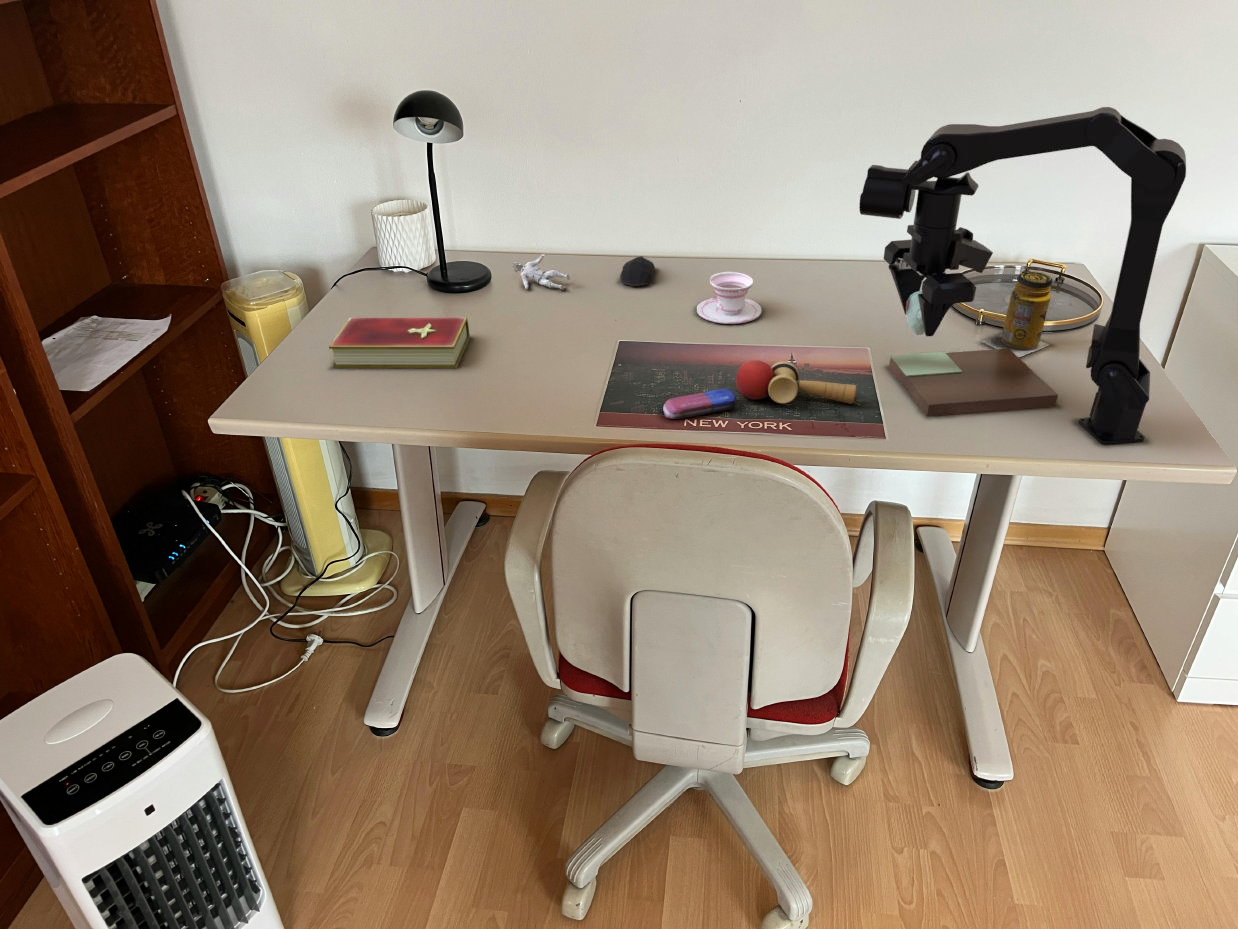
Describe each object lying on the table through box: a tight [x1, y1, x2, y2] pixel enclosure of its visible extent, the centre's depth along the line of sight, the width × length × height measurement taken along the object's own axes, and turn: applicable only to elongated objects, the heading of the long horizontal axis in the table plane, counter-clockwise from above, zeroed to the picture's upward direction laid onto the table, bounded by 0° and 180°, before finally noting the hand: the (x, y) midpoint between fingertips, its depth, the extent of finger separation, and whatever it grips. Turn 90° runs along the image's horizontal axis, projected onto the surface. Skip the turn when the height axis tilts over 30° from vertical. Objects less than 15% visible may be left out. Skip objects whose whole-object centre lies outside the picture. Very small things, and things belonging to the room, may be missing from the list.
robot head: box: [905, 290, 925, 336], centre depth 135 cm, size 8×4×7 cm, turn 170°
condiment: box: [981, 271, 1053, 358], centre depth 151 cm, size 7×8×12 cm
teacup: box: [696, 271, 763, 325], centre depth 167 cm, size 12×12×6 cm
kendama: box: [735, 359, 857, 405], centre depth 139 cm, size 8×6×18 cm
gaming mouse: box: [619, 255, 656, 287], centre depth 184 cm, size 6×15×4 cm, turn 169°
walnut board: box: [888, 348, 1059, 417], centre depth 142 cm, size 16×20×2 cm
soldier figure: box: [512, 254, 571, 291], centre depth 181 cm, size 8×5×12 cm
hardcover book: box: [328, 317, 470, 369], centre depth 156 cm, size 12×21×4 cm, turn 87°
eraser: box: [662, 388, 737, 420], centre depth 138 cm, size 11×4×2 cm, turn 105°
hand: (918, 325), depth 136 cm, fingers closed on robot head, 7 cm apart
